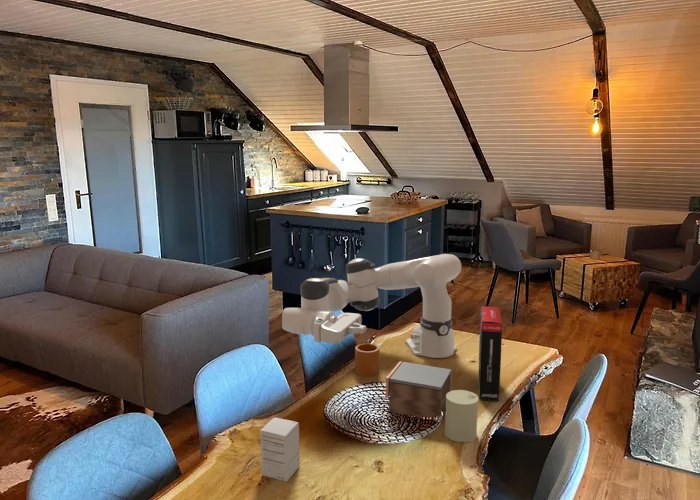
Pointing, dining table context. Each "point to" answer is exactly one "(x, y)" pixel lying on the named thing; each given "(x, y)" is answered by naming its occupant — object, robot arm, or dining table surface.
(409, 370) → the lid
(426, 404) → the walnut box
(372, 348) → the mug
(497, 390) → the graphics card box
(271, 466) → the supplement box
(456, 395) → the can
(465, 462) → the dining table surface
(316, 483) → the dining table surface
